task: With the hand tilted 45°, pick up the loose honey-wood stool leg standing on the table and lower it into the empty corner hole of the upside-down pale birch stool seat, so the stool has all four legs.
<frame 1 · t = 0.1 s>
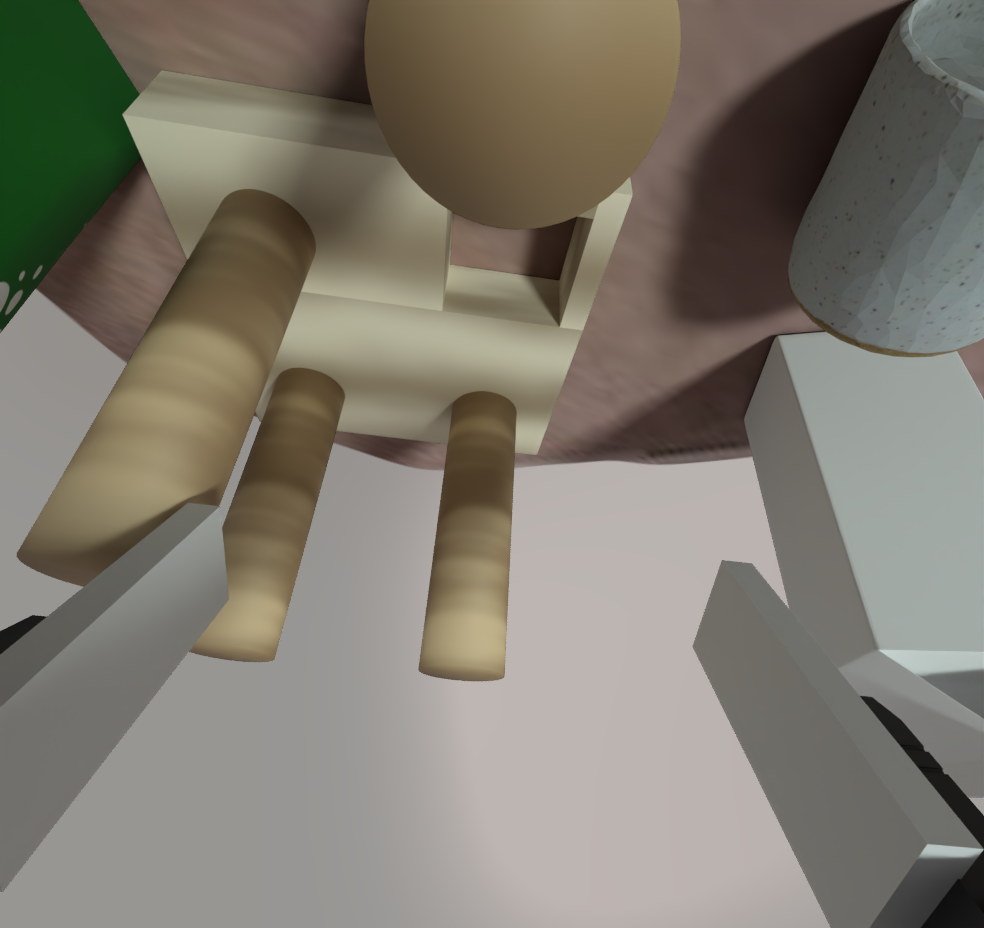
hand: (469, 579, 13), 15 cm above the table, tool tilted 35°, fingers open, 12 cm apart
ceramic mug: (960, 114, 17), on the table
milk carton: (827, 372, 28), on the table
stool: (405, 293, 25), on the table
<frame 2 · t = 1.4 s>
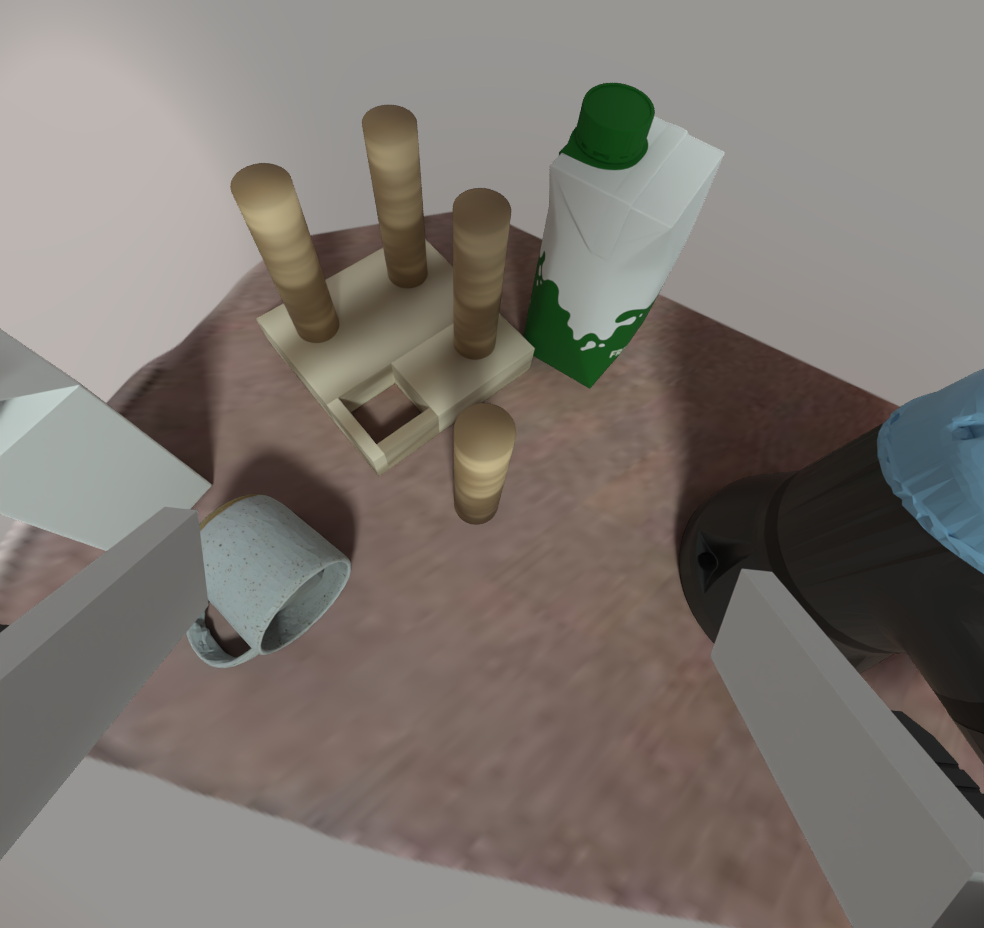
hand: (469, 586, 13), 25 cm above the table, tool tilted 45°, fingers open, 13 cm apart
ceramic mug: (274, 595, 37), on the table
milk carton: (145, 499, 39), on the table
loose leg: (476, 503, 40), on the table
soya milk: (574, 343, 46), on the table
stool: (400, 354, 44), on the table
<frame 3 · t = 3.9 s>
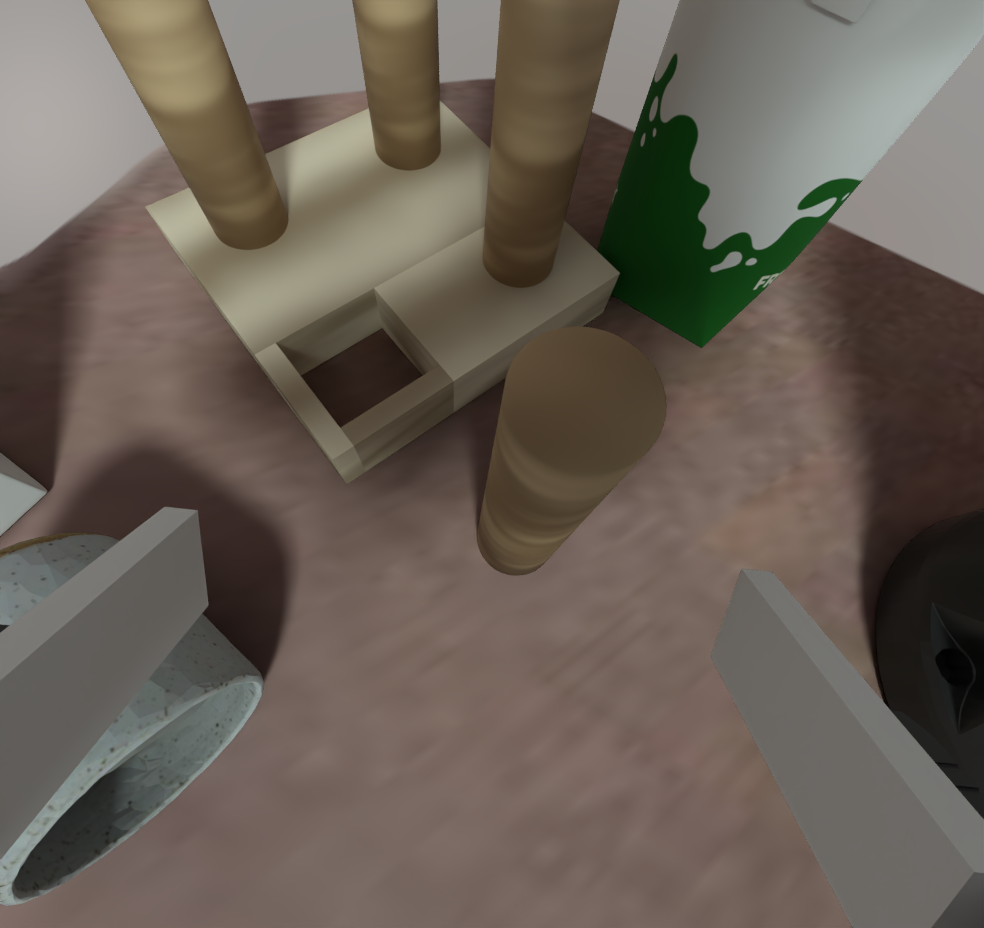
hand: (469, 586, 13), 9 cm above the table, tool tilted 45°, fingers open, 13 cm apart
ceramic mug: (125, 717, 20), on the table
loose leg: (515, 536, 23), on the table
soya milk: (672, 277, 29), on the table
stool: (392, 283, 27), on the table
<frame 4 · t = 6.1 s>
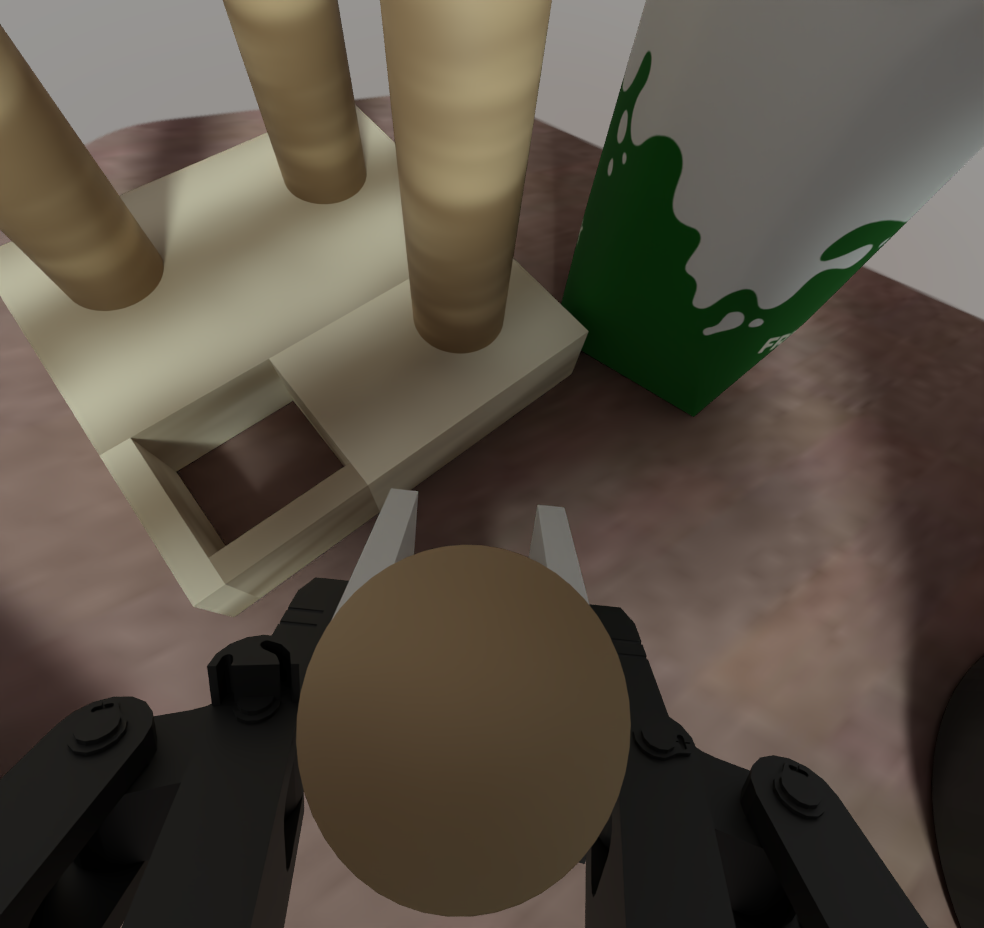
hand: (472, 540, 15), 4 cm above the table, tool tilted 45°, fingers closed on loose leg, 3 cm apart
loose leg: (455, 684, 17), on the table, touching gripper
soya milk: (655, 327, 24), on the table
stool: (309, 342, 22), on the table
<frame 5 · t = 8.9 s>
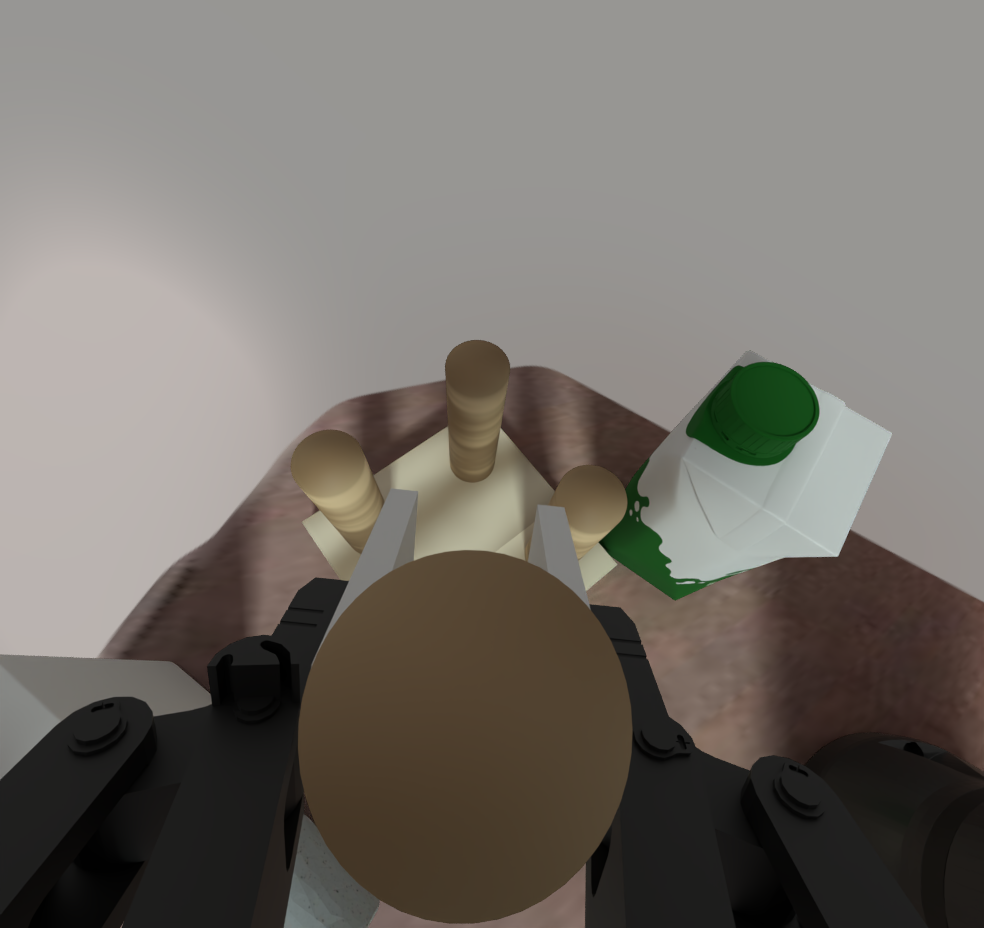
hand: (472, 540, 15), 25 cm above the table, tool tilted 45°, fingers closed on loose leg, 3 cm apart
ceramic mug: (286, 910, 31), on the table
milk carton: (170, 741, 34), on the table
loose leg: (456, 686, 17), point 20 cm above the table, touching gripper
soya milk: (655, 538, 41), on the table
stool: (459, 552, 39), on the table
when the fingers open (7 cm above the table, at t = 11.5 s): loose leg drops 2 cm, resting in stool.
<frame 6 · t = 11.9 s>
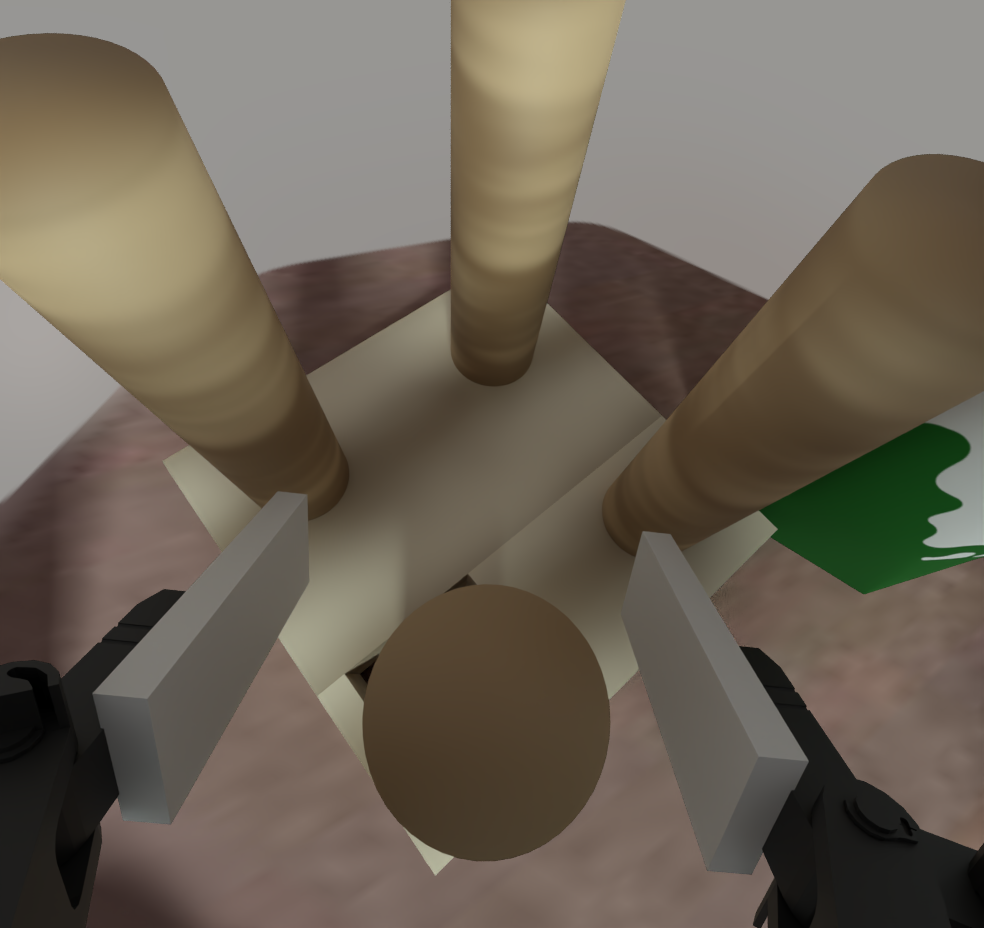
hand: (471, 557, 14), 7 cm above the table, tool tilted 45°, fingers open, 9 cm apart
loose leg: (452, 684, 19), resting in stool
soya milk: (810, 488, 24), on the table
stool: (473, 518, 22), on the table
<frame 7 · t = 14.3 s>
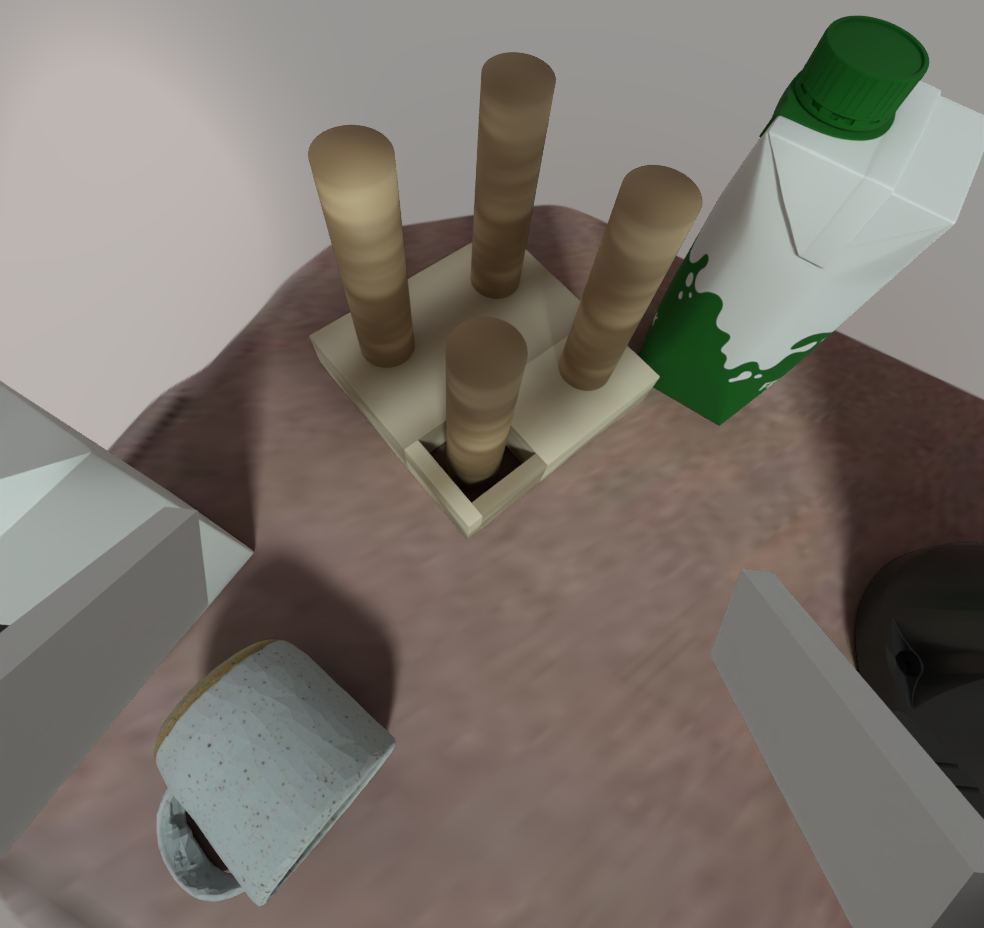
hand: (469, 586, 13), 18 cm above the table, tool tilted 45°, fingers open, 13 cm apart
ceramic mug: (284, 769, 26), on the table
milk carton: (166, 570, 30), on the table
loose leg: (473, 466, 33), resting in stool
soya milk: (693, 368, 38), on the table
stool: (483, 381, 36), on the table
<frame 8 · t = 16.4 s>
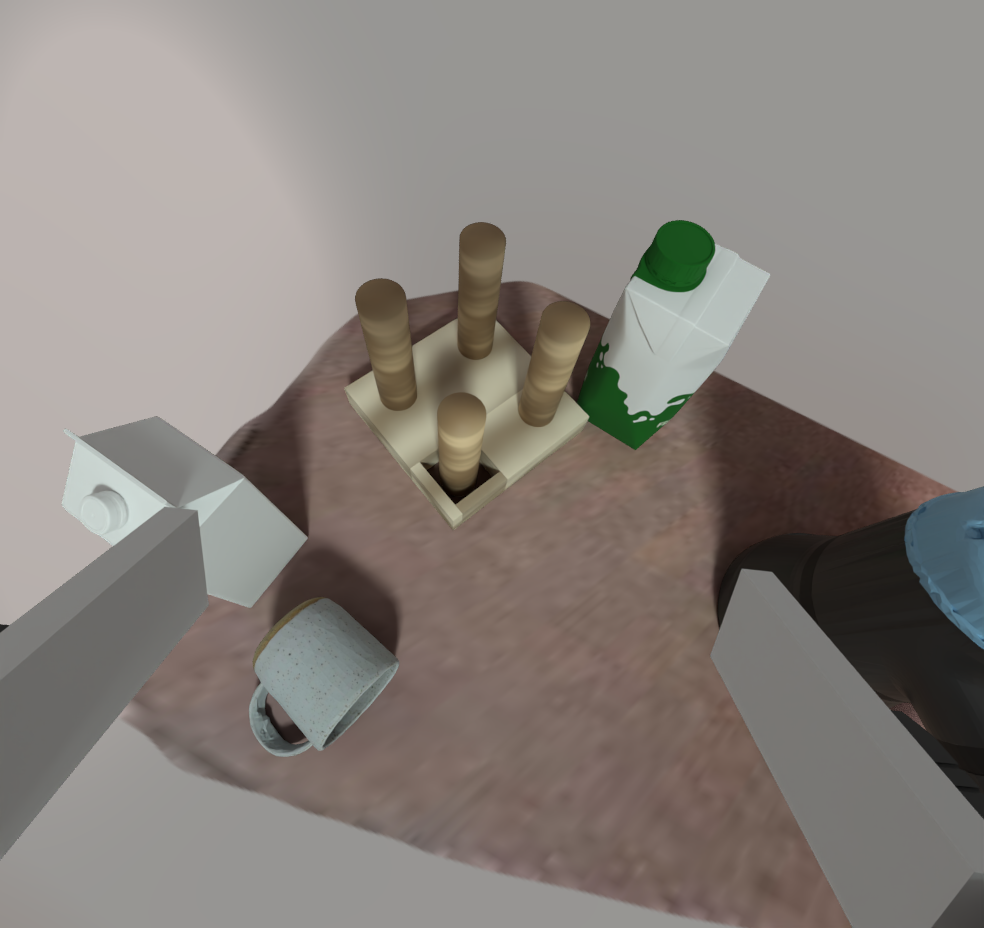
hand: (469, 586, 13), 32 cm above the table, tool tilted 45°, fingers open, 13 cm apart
ceramic mug: (326, 683, 40), on the table
milk carton: (249, 549, 44), on the table
loose leg: (458, 479, 47), resting in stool
soya milk: (620, 407, 52), on the table
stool: (466, 417, 50), on the table
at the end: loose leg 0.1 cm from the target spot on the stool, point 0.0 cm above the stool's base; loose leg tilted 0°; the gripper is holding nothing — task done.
